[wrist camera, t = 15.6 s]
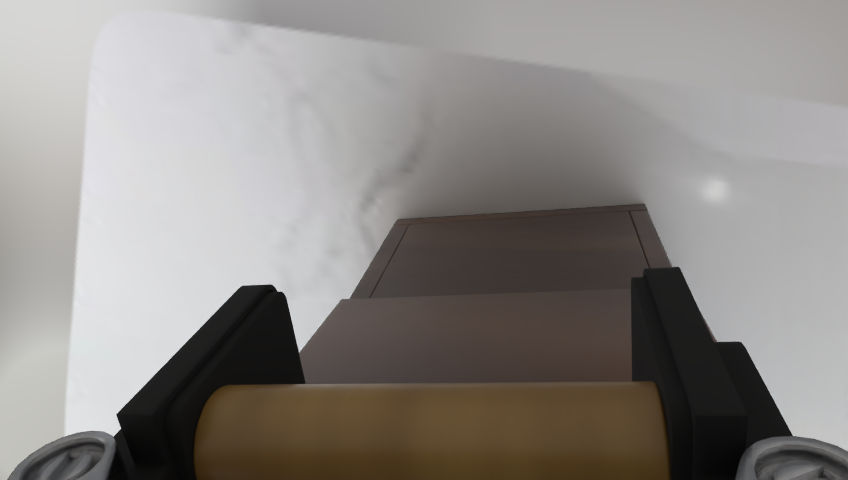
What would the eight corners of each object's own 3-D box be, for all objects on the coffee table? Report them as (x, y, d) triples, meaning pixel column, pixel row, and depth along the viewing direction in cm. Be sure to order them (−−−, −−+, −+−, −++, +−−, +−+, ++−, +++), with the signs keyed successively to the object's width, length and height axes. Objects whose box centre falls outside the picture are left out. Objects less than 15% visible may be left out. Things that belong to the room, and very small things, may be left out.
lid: (1018, 950, 6) (1103, 556, 5) (-3, 798, 9) (-124, 508, 7) (686, 309, 21) (687, 168, 19) (344, 319, 23) (324, 194, 22)
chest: (646, 462, 34) (677, 611, 26) (432, 458, 37) (402, 594, 29) (645, 203, 29) (683, 291, 21) (396, 219, 31) (346, 303, 23)
